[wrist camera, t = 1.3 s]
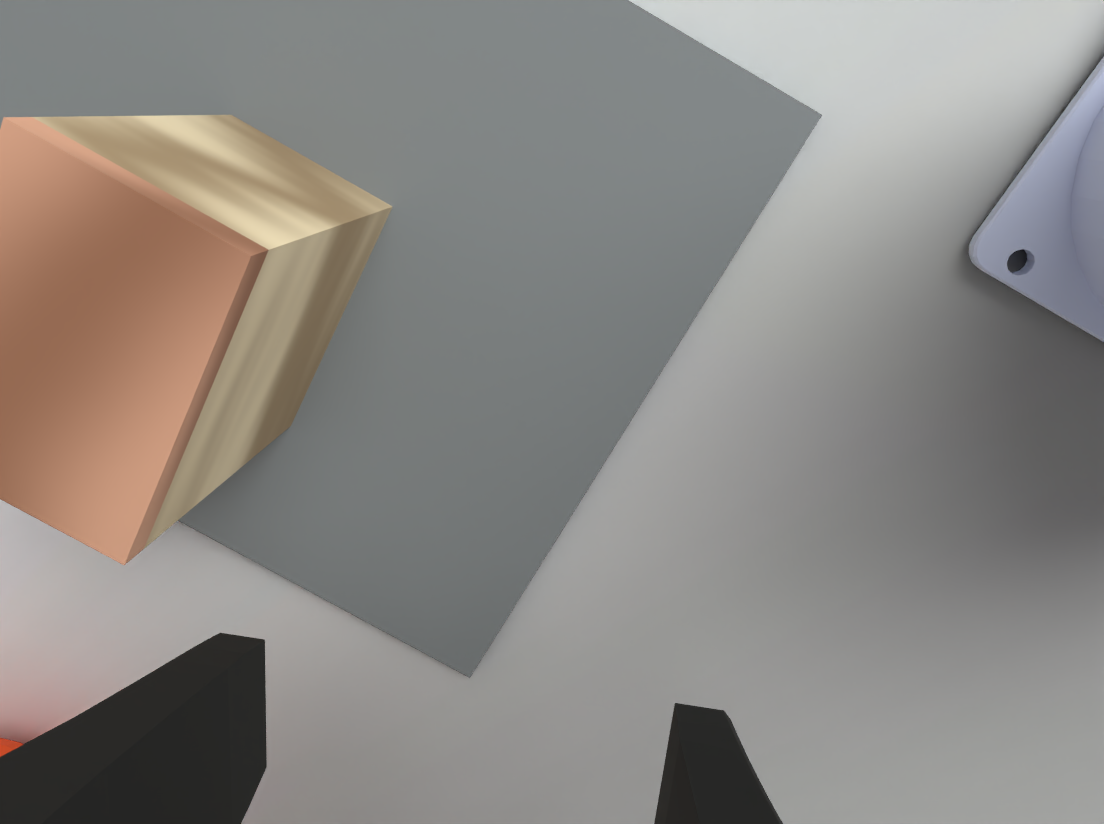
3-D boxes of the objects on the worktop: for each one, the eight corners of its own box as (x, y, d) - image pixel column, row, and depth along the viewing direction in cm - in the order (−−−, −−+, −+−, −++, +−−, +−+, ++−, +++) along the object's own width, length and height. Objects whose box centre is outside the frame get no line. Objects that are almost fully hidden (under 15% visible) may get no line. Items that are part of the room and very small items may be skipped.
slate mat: (820, 115, 18) (822, 114, 18) (472, 671, 23) (469, 677, 23) (-68, -410, 17) (-81, -419, 17) (-216, 299, 22) (-227, 301, 22)
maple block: (392, 206, 19) (251, 255, 13) (290, 425, 21) (124, 565, 15) (231, 114, 19) (3, 117, 13) (143, 345, 21) (-91, 450, 15)
